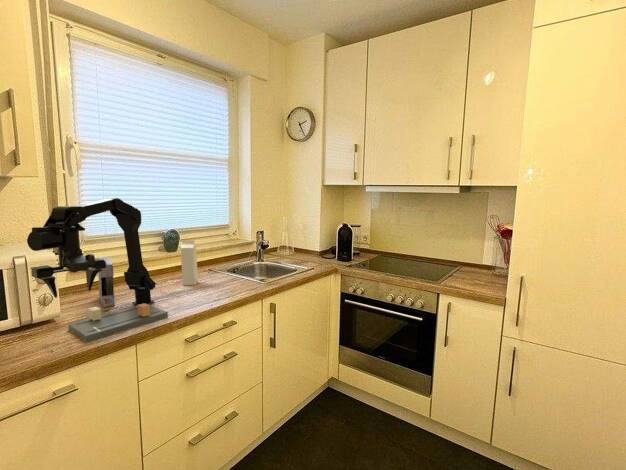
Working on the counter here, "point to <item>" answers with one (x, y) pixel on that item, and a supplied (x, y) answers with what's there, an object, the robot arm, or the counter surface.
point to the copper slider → (143, 310)
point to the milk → (189, 263)
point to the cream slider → (94, 313)
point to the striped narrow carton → (106, 284)
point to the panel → (114, 323)
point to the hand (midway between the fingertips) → (73, 293)
